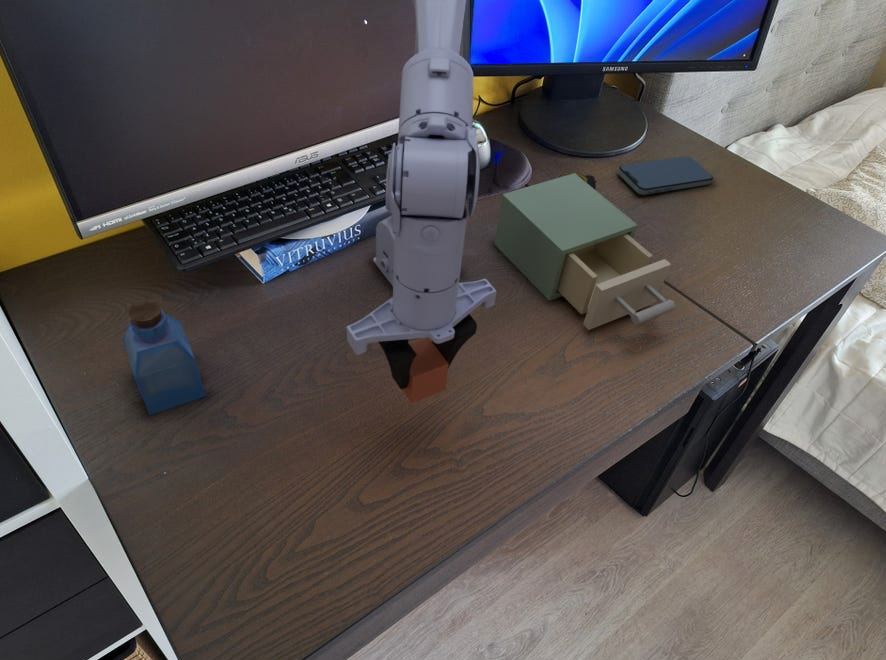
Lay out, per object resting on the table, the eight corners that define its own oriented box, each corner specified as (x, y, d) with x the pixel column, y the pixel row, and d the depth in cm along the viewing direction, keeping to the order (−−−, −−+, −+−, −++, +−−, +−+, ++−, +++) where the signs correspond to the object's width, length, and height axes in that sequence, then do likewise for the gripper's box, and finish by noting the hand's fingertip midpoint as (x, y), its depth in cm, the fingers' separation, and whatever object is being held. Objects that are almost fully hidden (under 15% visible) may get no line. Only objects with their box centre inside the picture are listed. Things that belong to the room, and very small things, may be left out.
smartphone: (716, 178, 111) (642, 189, 106) (712, 186, 112) (639, 198, 108) (689, 154, 116) (617, 164, 111) (685, 163, 117) (614, 173, 112)
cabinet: (620, 274, 95) (638, 225, 88) (549, 301, 90) (562, 250, 84) (562, 222, 102) (574, 172, 96) (493, 244, 98) (502, 193, 91)
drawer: (679, 325, 87) (698, 286, 82) (612, 354, 83) (627, 315, 78) (595, 250, 97) (607, 210, 92) (532, 272, 92) (541, 232, 87)
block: (411, 403, 66) (412, 377, 63) (392, 376, 69) (393, 350, 66) (445, 389, 68) (448, 363, 65) (426, 363, 70) (428, 337, 67)
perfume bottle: (191, 359, 79) (168, 282, 70) (206, 396, 76) (183, 320, 67) (137, 376, 77) (106, 299, 68) (149, 414, 74) (118, 339, 65)
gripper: (371, 327, 52) (372, 429, 62) (523, 274, 58) (501, 376, 68) (333, 273, 56) (340, 378, 66) (479, 228, 61) (464, 331, 72)
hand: (419, 374), depth 67 cm, fingers closed on block, 4 cm apart
